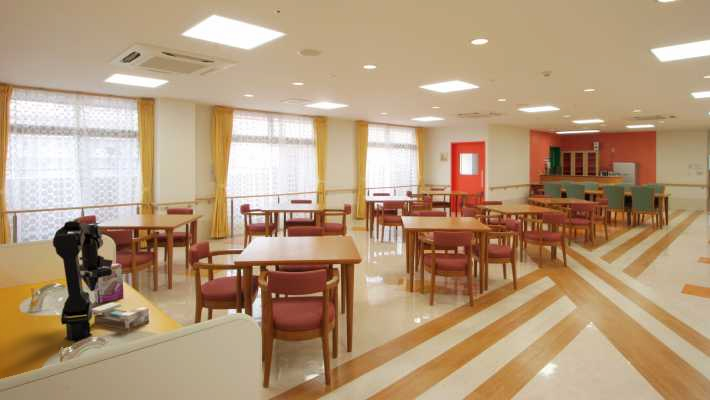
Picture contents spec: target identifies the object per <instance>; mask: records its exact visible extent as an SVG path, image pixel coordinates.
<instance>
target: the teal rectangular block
mask: <svg viewBox="0 0 710 400" xmlns="http://www.w3.org/2000/svg"><path fill="white" fill-rule="evenodd" d="M122 311H123V310H122ZM122 311H114V312H112V313H110V317H115V318H120V317H119V315H120V314H123V313H125V312H122Z"/></svg>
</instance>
